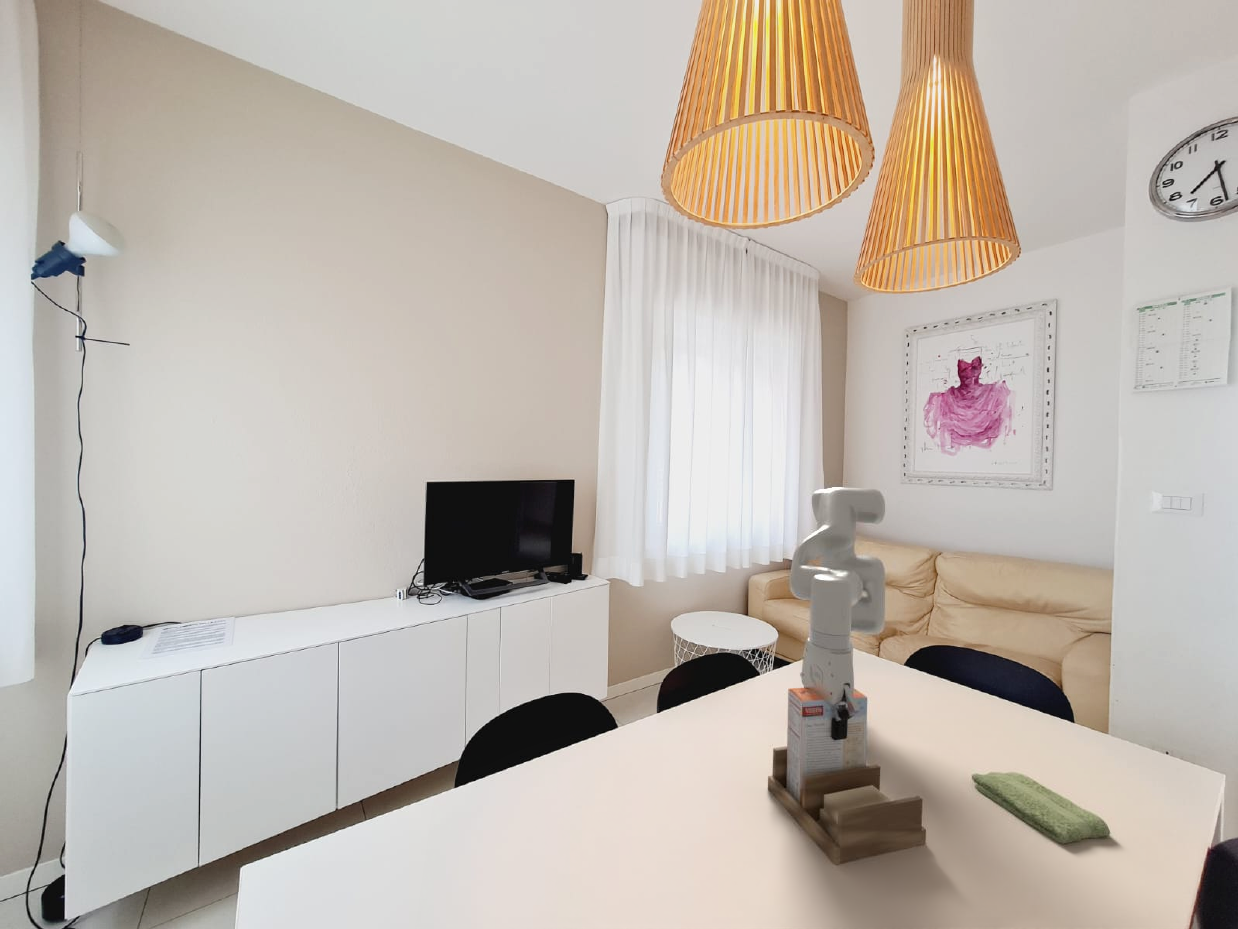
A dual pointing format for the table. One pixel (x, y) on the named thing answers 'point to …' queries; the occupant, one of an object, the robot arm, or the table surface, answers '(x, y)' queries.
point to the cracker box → (821, 738)
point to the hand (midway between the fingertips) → (826, 728)
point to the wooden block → (847, 805)
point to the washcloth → (1041, 807)
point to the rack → (850, 813)
